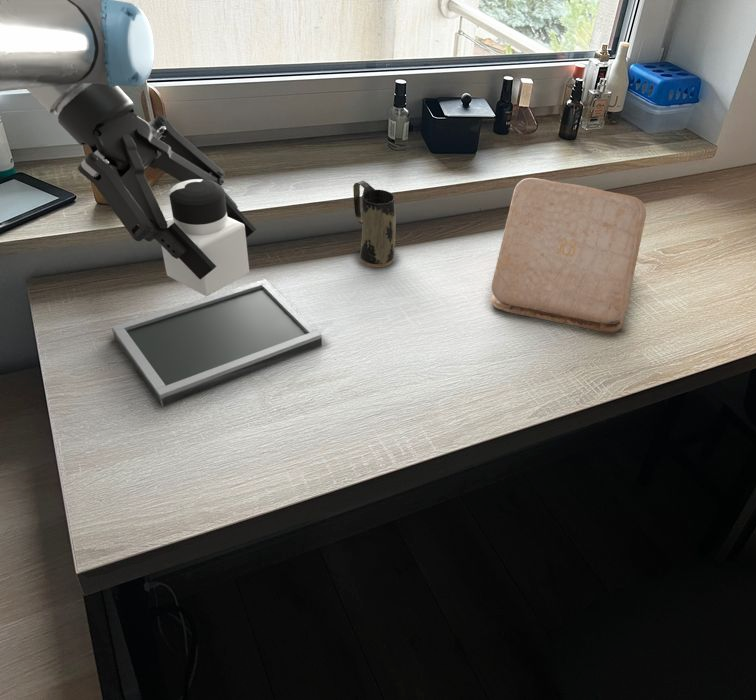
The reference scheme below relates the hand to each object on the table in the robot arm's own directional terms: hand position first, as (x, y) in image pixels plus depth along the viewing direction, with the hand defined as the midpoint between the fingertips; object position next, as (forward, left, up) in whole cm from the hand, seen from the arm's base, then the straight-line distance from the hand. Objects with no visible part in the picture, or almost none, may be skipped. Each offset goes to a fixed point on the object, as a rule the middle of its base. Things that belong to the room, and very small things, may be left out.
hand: (229, 253), depth 87 cm
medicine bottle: (-2, +3, -4) cm, 5 cm away
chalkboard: (-2, +3, -15) cm, 15 cm away
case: (+48, -13, -15) cm, 52 cm away
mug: (+28, +11, -15) cm, 34 cm away
